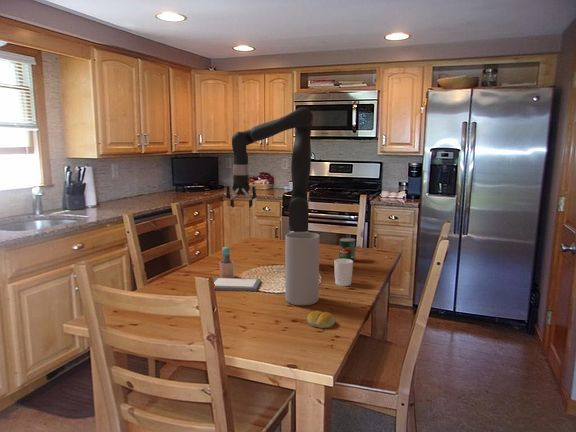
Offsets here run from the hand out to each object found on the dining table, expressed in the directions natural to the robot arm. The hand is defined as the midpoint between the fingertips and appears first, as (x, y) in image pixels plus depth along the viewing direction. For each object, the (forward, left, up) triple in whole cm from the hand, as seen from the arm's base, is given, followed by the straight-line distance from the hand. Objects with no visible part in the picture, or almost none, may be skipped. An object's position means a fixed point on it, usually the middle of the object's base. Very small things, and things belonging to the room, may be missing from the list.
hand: (241, 207), depth 212 cm
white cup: (-49, +28, -28) cm, 63 cm away
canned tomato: (-52, -11, -28) cm, 60 cm away
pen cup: (+2, +24, -28) cm, 37 cm away
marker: (+2, +24, -28) cm, 37 cm away
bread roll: (-41, +71, -29) cm, 86 cm away
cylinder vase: (-33, +50, -28) cm, 66 cm away
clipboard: (-4, +35, -28) cm, 45 cm away
